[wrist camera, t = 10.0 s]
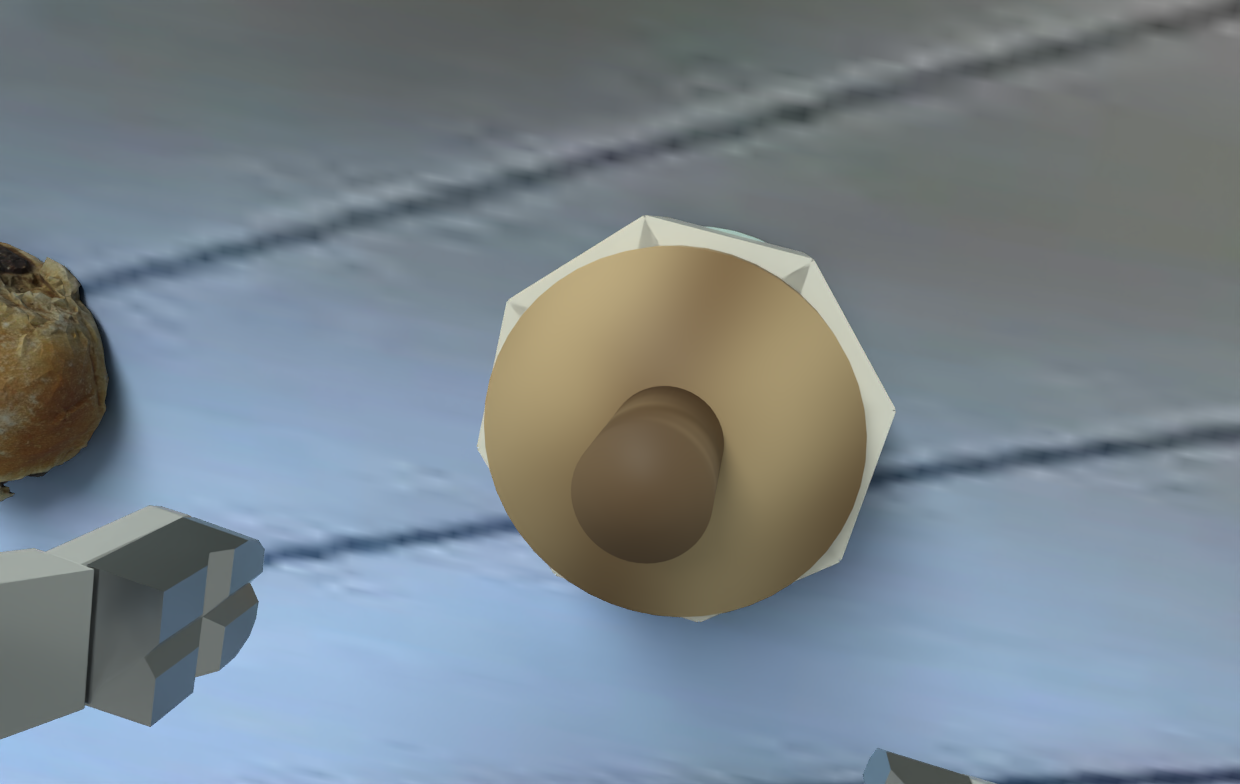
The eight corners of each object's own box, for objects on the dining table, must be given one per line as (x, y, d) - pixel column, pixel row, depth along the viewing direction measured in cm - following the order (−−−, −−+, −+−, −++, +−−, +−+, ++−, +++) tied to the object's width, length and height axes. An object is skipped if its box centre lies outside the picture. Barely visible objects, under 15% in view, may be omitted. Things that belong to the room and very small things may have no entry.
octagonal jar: (799, 580, 26) (808, 662, 21) (508, 488, 27) (453, 544, 22) (907, 275, 23) (945, 289, 18) (575, 189, 24) (527, 180, 19)
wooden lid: (905, 284, 18) (958, 307, 13) (810, 633, 21) (825, 763, 16) (524, 214, 20) (443, 211, 15) (479, 548, 22) (396, 642, 17)
